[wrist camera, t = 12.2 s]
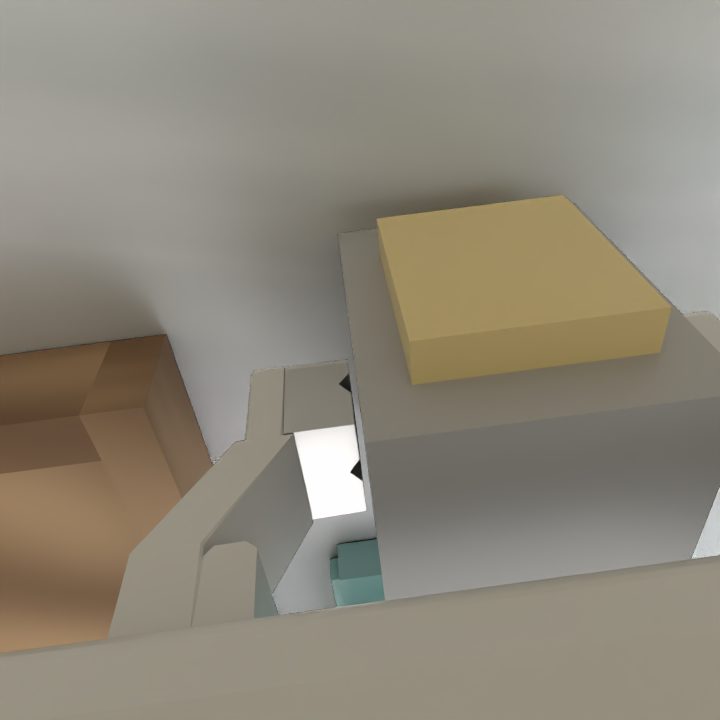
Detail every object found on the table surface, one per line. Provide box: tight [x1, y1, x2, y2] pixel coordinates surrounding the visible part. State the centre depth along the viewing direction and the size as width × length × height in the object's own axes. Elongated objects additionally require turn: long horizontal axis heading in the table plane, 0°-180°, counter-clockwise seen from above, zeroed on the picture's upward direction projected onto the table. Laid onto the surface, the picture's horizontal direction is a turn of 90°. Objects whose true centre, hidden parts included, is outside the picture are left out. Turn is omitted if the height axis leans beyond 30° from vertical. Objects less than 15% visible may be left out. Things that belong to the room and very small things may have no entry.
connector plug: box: [338, 195, 720, 601], centre depth 10 cm, size 7×4×5 cm, turn 6°
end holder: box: [0, 335, 213, 653], centre depth 14 cm, size 13×11×2 cm
